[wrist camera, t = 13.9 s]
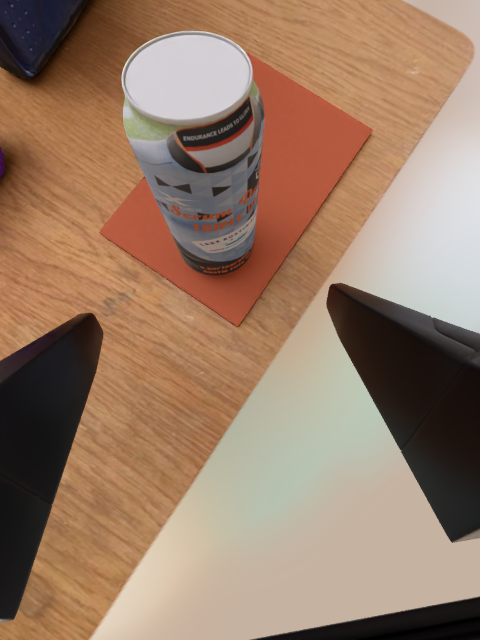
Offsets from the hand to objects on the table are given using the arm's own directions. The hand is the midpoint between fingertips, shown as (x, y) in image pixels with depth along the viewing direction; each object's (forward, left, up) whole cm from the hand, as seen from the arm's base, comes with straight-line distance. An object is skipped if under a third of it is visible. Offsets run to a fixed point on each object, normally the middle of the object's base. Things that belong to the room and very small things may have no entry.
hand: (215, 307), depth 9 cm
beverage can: (+6, -5, -10) cm, 13 cm away
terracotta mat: (+9, -10, -11) cm, 17 cm away
